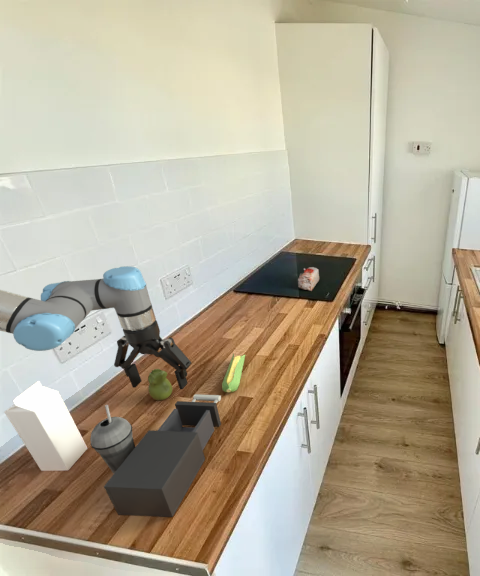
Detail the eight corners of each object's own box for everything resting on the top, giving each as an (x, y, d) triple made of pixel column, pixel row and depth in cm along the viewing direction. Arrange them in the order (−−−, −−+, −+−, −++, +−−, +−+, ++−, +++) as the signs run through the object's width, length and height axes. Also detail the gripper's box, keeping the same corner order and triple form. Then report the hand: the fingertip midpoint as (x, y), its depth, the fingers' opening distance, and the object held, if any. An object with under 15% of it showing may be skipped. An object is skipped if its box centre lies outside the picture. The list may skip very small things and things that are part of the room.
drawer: (194, 407, 93) (188, 386, 90) (229, 409, 93) (225, 388, 90) (154, 463, 77) (145, 441, 74) (197, 465, 77) (190, 443, 74)
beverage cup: (112, 461, 78) (83, 399, 70) (148, 451, 81) (125, 390, 72) (103, 489, 72) (70, 425, 64) (142, 477, 75) (115, 415, 66)
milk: (88, 448, 81) (54, 380, 72) (68, 471, 76) (28, 400, 66) (62, 448, 81) (24, 379, 71) (40, 471, 75) (-4, 400, 66)
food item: (312, 292, 164) (311, 274, 160) (297, 290, 165) (296, 273, 160) (320, 281, 176) (320, 264, 172) (306, 280, 177) (305, 263, 173)
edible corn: (220, 398, 98) (218, 386, 96) (233, 357, 115) (231, 346, 113) (238, 396, 99) (236, 384, 97) (248, 355, 116) (247, 345, 114)
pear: (164, 389, 100) (156, 363, 96) (178, 393, 99) (170, 367, 95) (148, 401, 95) (138, 375, 91) (162, 406, 94) (153, 379, 90)
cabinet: (158, 457, 80) (148, 430, 76) (205, 459, 80) (197, 432, 76) (118, 515, 68) (103, 486, 64) (172, 517, 68) (161, 489, 64)
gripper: (194, 318, 89) (209, 378, 99) (103, 314, 89) (127, 374, 98) (178, 333, 83) (196, 396, 92) (80, 329, 82) (107, 392, 92)
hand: (160, 385), depth 95 cm, fingers open, 13 cm apart
